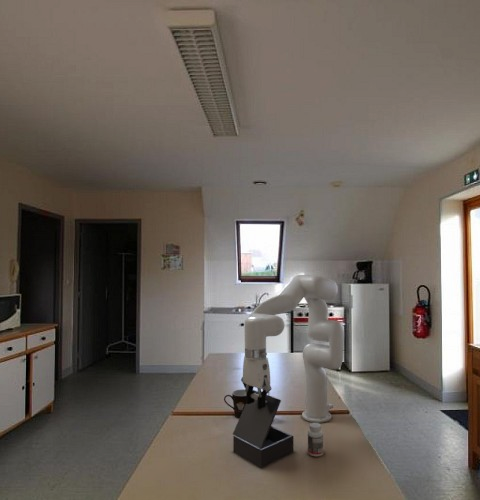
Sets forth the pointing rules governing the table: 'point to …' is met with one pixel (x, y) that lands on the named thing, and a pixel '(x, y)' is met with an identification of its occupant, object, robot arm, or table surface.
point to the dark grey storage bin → (265, 448)
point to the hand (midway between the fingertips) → (255, 404)
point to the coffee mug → (238, 401)
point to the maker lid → (256, 420)
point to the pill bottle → (315, 440)
